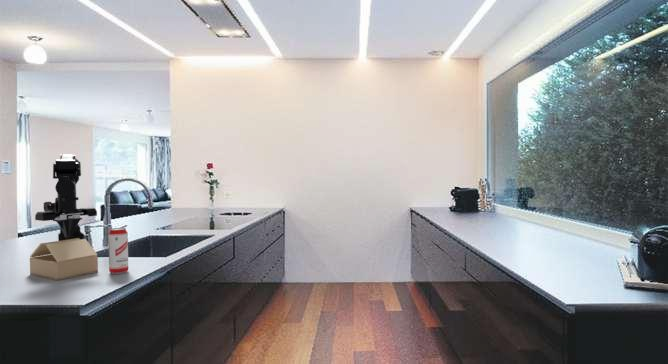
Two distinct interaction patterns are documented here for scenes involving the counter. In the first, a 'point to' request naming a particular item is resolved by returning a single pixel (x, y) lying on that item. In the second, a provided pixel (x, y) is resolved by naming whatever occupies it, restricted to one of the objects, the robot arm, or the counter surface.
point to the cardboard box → (62, 267)
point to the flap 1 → (44, 250)
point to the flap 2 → (71, 250)
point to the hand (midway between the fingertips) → (68, 238)
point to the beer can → (118, 250)
